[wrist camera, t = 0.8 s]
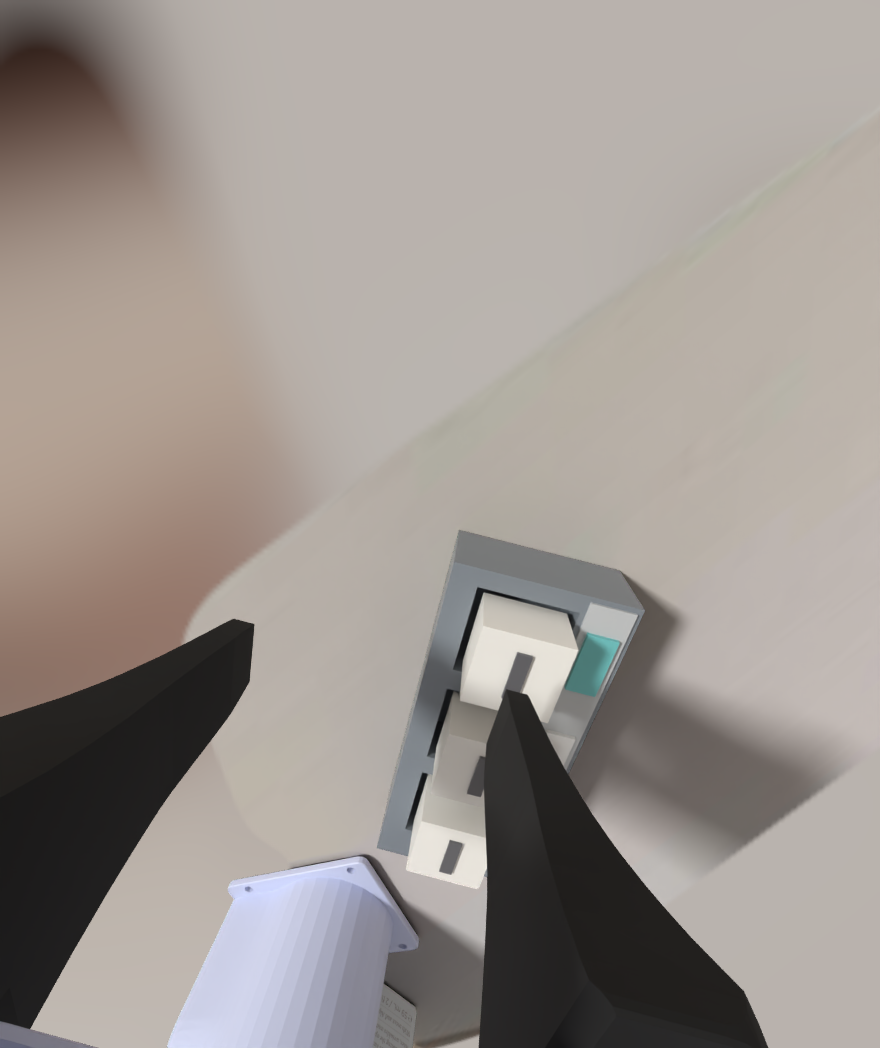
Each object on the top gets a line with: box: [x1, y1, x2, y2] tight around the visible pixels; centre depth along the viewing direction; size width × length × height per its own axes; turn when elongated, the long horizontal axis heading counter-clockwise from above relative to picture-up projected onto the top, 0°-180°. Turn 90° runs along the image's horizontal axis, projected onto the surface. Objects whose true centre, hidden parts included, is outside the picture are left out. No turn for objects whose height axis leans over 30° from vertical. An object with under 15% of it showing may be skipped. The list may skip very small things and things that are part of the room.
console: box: [377, 530, 645, 877], centre depth 19 cm, size 15×7×3 cm, turn 167°
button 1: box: [406, 774, 487, 889], centre depth 18 cm, size 3×3×2 cm
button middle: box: [430, 691, 498, 808], centre depth 17 cm, size 3×3×2 cm
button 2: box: [460, 593, 578, 723], centre depth 15 cm, size 3×3×2 cm
